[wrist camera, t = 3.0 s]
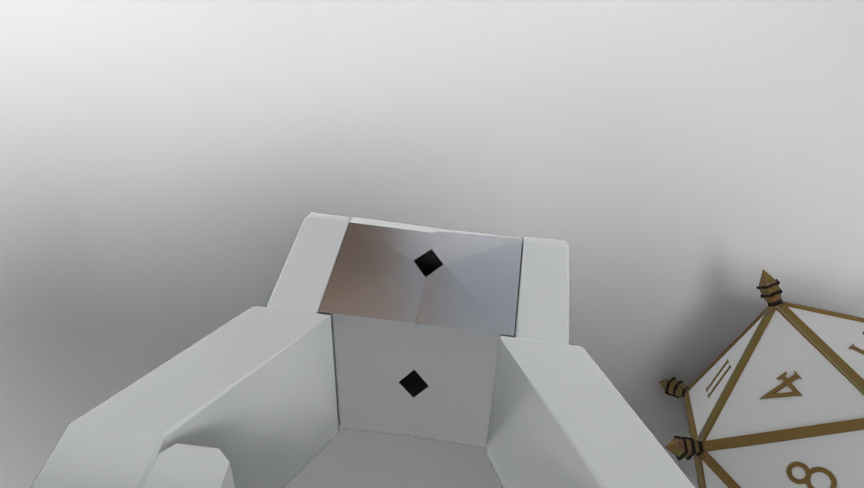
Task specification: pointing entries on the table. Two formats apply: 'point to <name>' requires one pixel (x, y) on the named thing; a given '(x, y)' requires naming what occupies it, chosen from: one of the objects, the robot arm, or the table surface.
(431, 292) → the robot arm
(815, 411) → the game die
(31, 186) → the table surface
